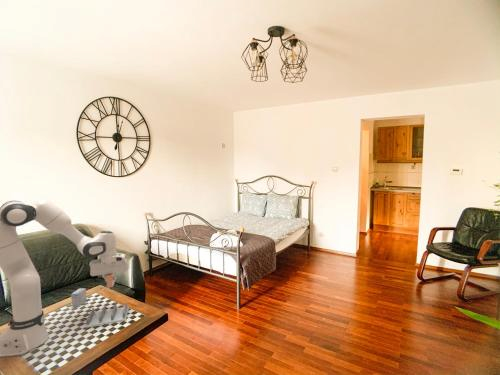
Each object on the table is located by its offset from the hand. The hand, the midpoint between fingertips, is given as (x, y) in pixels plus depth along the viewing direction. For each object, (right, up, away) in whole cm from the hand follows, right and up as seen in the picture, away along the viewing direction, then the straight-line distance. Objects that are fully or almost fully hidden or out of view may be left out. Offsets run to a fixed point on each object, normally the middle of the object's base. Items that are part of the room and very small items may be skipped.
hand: (110, 280), depth 159 cm
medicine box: (-26, -19, +11) cm, 34 cm away
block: (0, -3, 0) cm, 3 cm away
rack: (+1, -20, -5) cm, 20 cm away
